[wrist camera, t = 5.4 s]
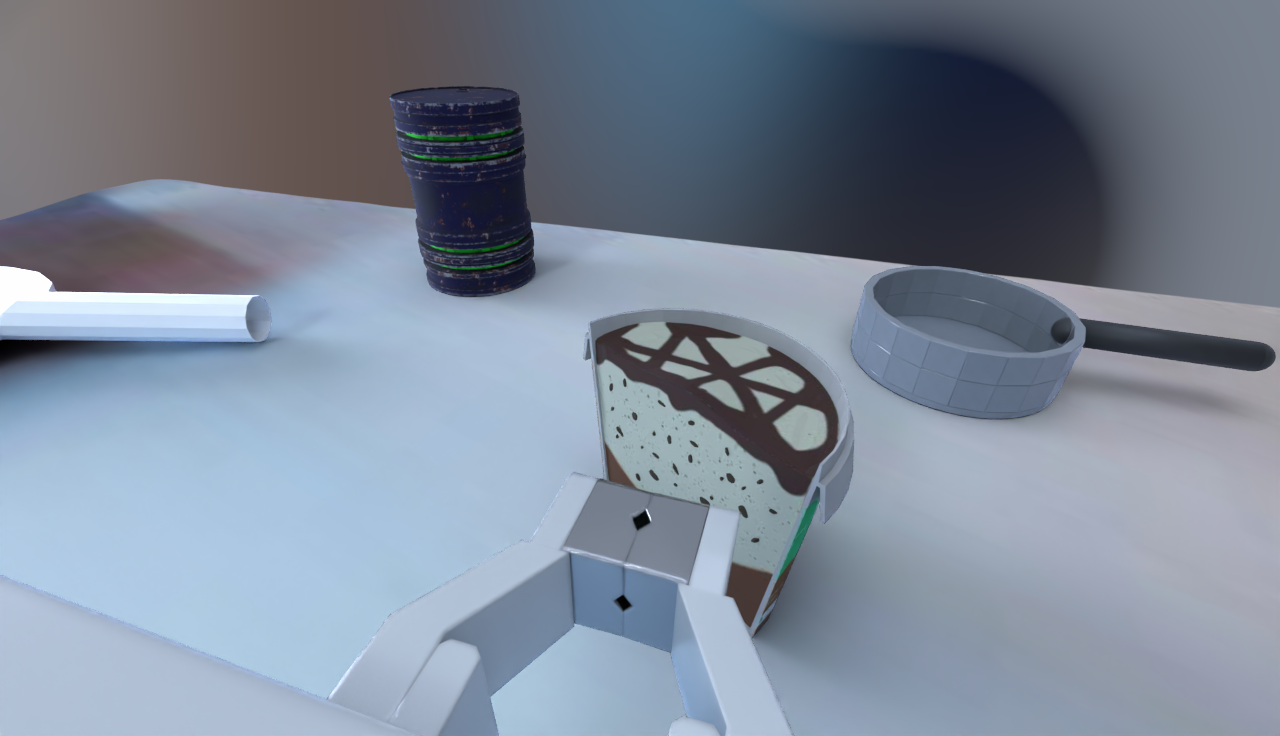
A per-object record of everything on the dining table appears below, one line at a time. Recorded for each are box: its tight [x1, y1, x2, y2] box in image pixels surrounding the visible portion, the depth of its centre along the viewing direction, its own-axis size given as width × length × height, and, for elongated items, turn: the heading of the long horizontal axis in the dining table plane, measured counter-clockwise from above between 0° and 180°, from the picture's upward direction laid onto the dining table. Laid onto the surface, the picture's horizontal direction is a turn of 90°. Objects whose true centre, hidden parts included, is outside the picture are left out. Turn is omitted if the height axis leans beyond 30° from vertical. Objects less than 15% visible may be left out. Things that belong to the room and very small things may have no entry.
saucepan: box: [851, 266, 1086, 419], centre depth 39 cm, size 13×13×4 cm
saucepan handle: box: [1051, 317, 1276, 371], centre depth 35 cm, size 12×2×2 cm, turn 73°
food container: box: [583, 308, 854, 638], centre depth 24 cm, size 12×6×10 cm, turn 41°
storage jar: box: [389, 86, 535, 296], centre depth 47 cm, size 10×10×15 cm
